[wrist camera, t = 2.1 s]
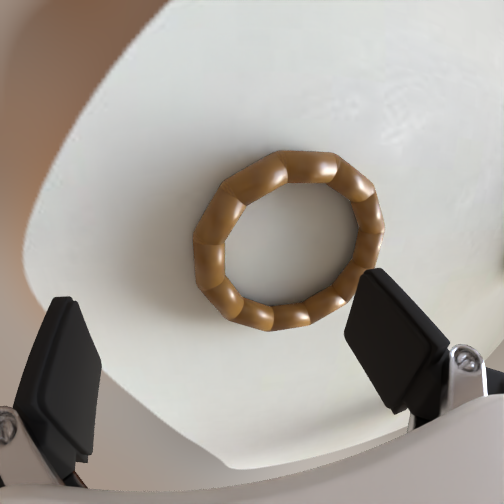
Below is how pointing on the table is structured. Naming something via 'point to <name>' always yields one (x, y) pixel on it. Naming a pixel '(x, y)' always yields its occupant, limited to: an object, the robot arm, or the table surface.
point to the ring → (253, 188)
